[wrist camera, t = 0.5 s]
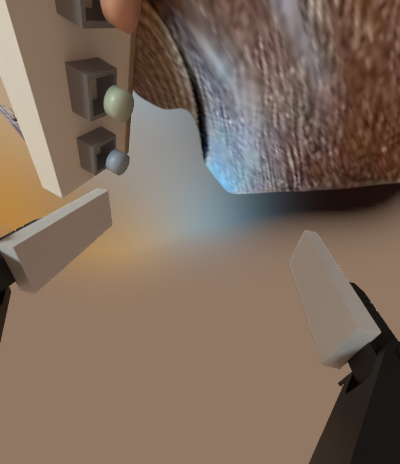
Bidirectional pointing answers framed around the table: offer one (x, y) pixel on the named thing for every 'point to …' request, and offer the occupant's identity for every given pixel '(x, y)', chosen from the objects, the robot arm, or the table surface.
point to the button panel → (65, 85)
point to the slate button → (117, 162)
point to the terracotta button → (122, 13)
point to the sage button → (118, 103)
